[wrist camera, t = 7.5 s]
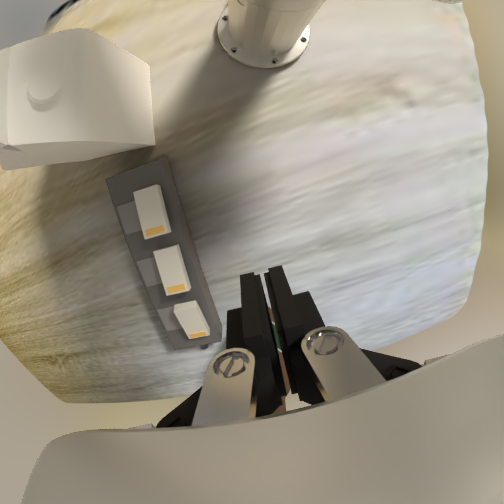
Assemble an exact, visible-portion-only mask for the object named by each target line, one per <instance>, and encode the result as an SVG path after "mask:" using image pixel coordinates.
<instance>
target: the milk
mask: <svg viewBox="0 0 504 504" xmlns="http://www.w3.org/2000/svg"><path fill="white" fill-rule="evenodd" d="M154 145H155V136H154V126H153V115H152V102H151V88H150V69H149V65H148V64H146V63H145V62H143V61H142V60H140V59H138V58H137V57H135V56H134V55H132V54H131V53H129V52H127V51H126V50H124V49H122V48H121V47H119V46H117V45H116V44H114V43H112V42H111V41H109V40H107V39H106V38H104V37H102V36H100V35H99V34H97V33H95V32H93V31H92V30H89V29H86V28H75V29H69V30H64V31H59V32H55V33H52V34H48V35H44V36H41V37H37V38H34V39H31V40H28V41H25V42H22V43H19V44H16V45H14V46H12V47H11V48H10V47H8V48H5V49H2V50H0V163H1V166H2V169H4V170H13V169H20V168H27V167H34V166H41V165H50V164H59V163H69V162H80V161H87V160H91V159H95V158H99V157H103V156H107V155H111V154H115V153H120V152H124V151H129V150H134V149H139V148H144V147H149V146H154Z"/></svg>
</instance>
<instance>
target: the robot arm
mask: <svg viewBox="0 0 504 504" xmlns="http://www.w3.org/2000/svg"><path fill="white" fill-rule="evenodd" d="M433 1H436V2H440V3H447V4H453V3H459V2H462V1H465V0H433ZM324 2H325V0H228V7H227V8H226V9H225V10H224V11H223V12H222V14H221V16H220V18H219V21H218V27H217V32H218V37H219V41H220V43H221V45H222V47H223V48H224V50H225V51H226V52H227V53H228V54H229V55H230V56H231V57H233V58H234V59H235V60H237V61H239V62H241V63H243V64H245V65H248V66H251V67H257V68H276V67H280V66H284V65H286V64H289V63H291V62H293V61H294V60H295V59H297V58H298V57H299V56H300V55H301V54H302V53H303V52H304V50H305V49H306V47H307V45H308V43H309V40H310V26H309V23H310V21H311V20H312V18H313V17H314V16H315V14H316V13H317V11H318V10H319V9H320V7H321V6H322V4H323V3H324ZM224 20H226V21H224ZM301 40H302V41H304V42H301ZM232 51H236V53H233V52H232ZM272 61H275V62H276V63H275V64H273V63H272ZM268 270H269V272H267V273H264V277H265V281H266V286H267V290H268V294H269V299H270V303H271V308H272V313H273V317H274V322H275V326H276V330H277V335H278V339H279V343H280V347H281V351H282V355H283V359H284V363H285V367H286V372H287V376H288V380H289V384H290V388H291V392H292V394H295V393H298V395H299V399H300V401H304V402H306V403H309V404H311V406H307V407H303V408H299V409H295V410H291V411H286V412H281V413H276V414H274V412H275V411H276V409H277V408H278V407H279V406H281V405H283V402H282V396H287V392H286V387H285V382H284V377H283V372H282V367H281V363H280V358H279V353H278V348H277V343H276V338H275V334H274V329H273V325H272V321H271V317H270V313H269V310H268V306H267V302H266V298H265V294H264V290H263V286H262V282H261V278H260V274H259V275H254V272H252V273H248V274H243V275H240V285H241V304H242V307H241V308H237V309H232V310H228V311H227V338H226V350H225V351H222V352H220V353H219V354H217V355H216V356H215V357H214V358H213V359H212V360H211V361H210V363H209V365H208V369H207V372H206V376H205V380H204V383H203V386H202V387H201V388H200V389H198V390H197V391H196V392H195V393H193V394H192V395H191V396H190V397H189V398H187V399H186V400H185V401H184V402H183V403H181V404H180V405H179V406H178V407H176V408H175V409H174V410H173V411H171V412H170V413H169V414H167V415H166V416H165V417H164V418H163V419H162V420H161V421H160V422H159V423H158V424H157V426H153V425H152V424H148V425H143V426H139V427H134V428H129V429H100V430H99V429H98V430H86V431H79V432H74V433H70V434H67V435H63V436H61V437H58V438H56V439H54V440H52V441H51V442H50V443H49V444H47V445H46V447H45V448H44V449H43V451H42V453H41V454H40V456H39V458H38V460H37V462H36V464H35V466H34V468H33V471H32V473H31V475H30V478H29V481H28V484H27V486H26V490H25V492H24V495H23V499H22V502H21V504H504V334H503V335H497V336H494V337H491V338H487V339H485V340H481V341H479V342H477V343H474V344H472V345H469V346H467V347H465V348H463V349H461V350H459V351H457V352H454V353H452V354H449V355H445V356H441V357H437V358H433V359H429V360H425V362H424V364H422V365H420V364H419V363H417V362H413V361H411V360H407V359H402V358H397V357H393V356H389V355H384V354H381V353H376V352H372V351H368V350H364V349H361V348H359V347H358V346H357V345H356V344H355V342H354V341H353V340H352V339H351V338H350V336H349V335H348V334H347V333H346V332H345V331H344V330H342V329H340V328H337V327H331V326H327V327H325V324H324V322H323V320H322V318H321V316H320V314H319V312H318V309H317V307H316V305H315V303H314V301H313V299H312V297H311V295H310V293H309V291H307V292H303V293H299V294H295V295H292V292H291V289H290V287H289V284H288V281H287V279H286V276H285V273H284V271H283V268H282V265H281V266H276V267H272V268H268Z"/></svg>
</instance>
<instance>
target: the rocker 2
mask: <svg viewBox="0 0 504 504" xmlns="http://www.w3.org/2000/svg"><path fill="white" fill-rule="evenodd" d="M174 313H175V315H176V317H177V319H178V320H179V322H180V324H181V326H182V327H183V329H184V331H185V332H186V334H187V336H188V338H189V339H192V338H198V337H203V336H208V335H210V328H209V326H208V324H207V322H206V320H205V318H204V316H203V314H202V312H201V309H200V307H199V305H198V303H197V301H196V300H194V301H190V302H185V303H181V304H176V305H174Z"/></svg>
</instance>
